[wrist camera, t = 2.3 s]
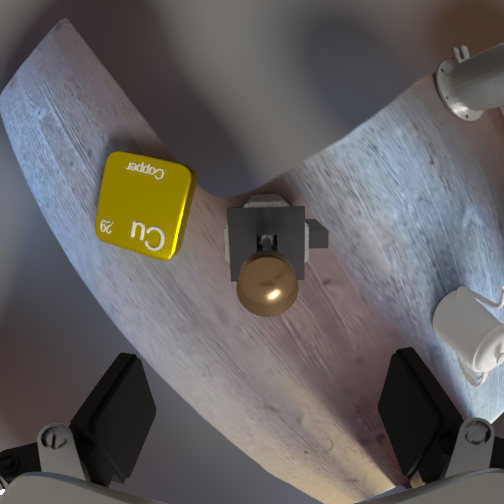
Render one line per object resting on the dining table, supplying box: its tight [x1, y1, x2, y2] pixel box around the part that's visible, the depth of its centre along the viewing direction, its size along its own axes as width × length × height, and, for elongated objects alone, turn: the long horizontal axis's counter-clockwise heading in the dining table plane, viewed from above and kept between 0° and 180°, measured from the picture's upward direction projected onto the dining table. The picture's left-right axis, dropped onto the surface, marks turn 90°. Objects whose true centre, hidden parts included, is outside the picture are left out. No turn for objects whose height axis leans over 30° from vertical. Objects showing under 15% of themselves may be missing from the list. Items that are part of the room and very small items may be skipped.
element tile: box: [95, 151, 197, 260], centre depth 42 cm, size 15×15×5 cm
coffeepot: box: [433, 285, 504, 386], centre depth 38 cm, size 11×25×19 cm, turn 19°
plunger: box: [237, 235, 298, 317], centre depth 25 cm, size 7×7×14 cm
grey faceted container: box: [224, 193, 328, 282], centre depth 37 cm, size 9×12×15 cm
